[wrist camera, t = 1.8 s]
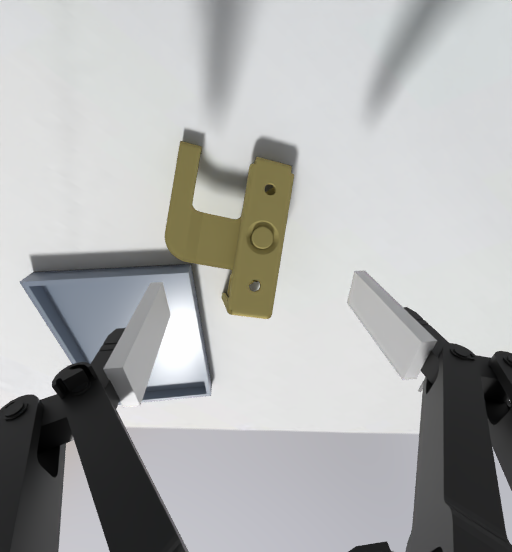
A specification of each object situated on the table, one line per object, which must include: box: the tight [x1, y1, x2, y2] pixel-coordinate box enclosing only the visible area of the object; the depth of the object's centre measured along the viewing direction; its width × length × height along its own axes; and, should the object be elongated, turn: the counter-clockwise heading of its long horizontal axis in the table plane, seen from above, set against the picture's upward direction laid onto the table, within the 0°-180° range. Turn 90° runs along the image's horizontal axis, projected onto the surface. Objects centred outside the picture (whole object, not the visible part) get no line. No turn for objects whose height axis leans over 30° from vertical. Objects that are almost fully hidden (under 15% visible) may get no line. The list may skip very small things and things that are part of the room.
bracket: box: [165, 141, 294, 319], centre depth 25 cm, size 10×14×10 cm
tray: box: [20, 264, 212, 405], centre depth 32 cm, size 23×17×2 cm
